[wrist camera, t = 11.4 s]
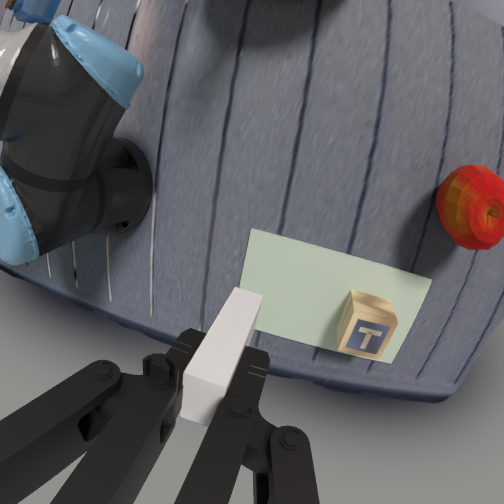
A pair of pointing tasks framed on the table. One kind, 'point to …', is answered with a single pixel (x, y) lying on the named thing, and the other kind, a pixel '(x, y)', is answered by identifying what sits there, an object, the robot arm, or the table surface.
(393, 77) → the table surface
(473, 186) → the apple
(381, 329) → the wooden block
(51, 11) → the blue corked bottle
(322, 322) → the felt mat
